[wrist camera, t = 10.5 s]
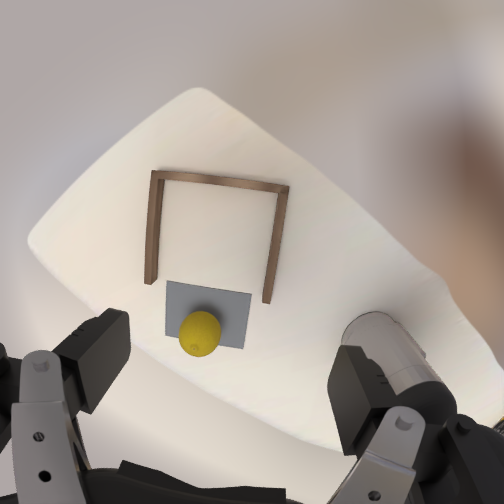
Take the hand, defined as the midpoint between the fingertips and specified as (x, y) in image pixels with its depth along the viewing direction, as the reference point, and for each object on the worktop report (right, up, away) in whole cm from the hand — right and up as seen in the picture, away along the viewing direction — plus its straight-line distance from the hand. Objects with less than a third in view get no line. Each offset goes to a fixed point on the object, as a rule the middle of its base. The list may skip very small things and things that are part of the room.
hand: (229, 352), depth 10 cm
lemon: (-6, -6, +31) cm, 32 cm away
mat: (-6, -6, +31) cm, 32 cm away
